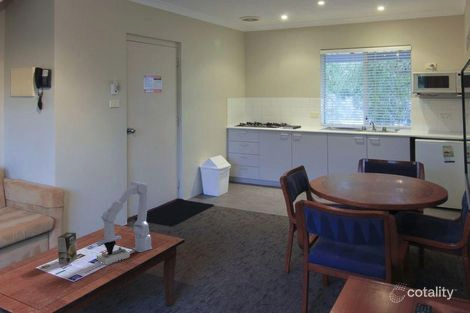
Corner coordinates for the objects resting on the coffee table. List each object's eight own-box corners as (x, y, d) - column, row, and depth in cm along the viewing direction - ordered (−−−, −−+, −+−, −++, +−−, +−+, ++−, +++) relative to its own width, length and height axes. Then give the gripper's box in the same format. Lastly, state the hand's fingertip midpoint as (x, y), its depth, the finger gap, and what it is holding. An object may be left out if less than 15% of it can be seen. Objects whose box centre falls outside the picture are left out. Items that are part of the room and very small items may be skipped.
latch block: (120, 252, 245) (120, 245, 245) (129, 257, 239) (129, 249, 238) (96, 260, 234) (96, 252, 233) (105, 265, 227) (105, 257, 226)
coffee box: (68, 264, 227) (66, 237, 224) (58, 263, 228) (56, 237, 226) (77, 258, 236) (76, 232, 233) (68, 257, 237) (66, 231, 235)
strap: (121, 250, 242) (121, 247, 241) (124, 251, 240) (124, 248, 239) (102, 256, 232) (102, 253, 232) (105, 257, 230) (105, 255, 230)
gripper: (116, 227, 240) (117, 248, 242) (94, 232, 229) (95, 255, 231) (123, 229, 235) (123, 251, 237) (100, 235, 225) (101, 258, 227)
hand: (110, 253), depth 234 cm, fingers closed, pressing on strap
